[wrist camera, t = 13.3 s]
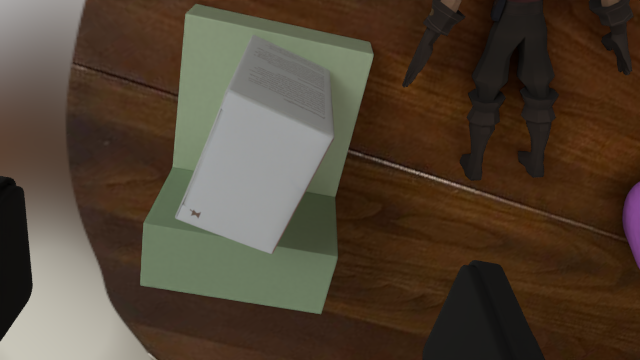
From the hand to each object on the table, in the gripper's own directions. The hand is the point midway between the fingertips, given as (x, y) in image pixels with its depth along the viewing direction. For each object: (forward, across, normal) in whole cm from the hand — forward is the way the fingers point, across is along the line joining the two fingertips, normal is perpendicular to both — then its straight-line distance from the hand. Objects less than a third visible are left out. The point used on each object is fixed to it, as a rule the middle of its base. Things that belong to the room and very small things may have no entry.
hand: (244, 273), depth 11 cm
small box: (+24, +1, +6) cm, 25 cm away
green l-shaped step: (+27, +1, +9) cm, 28 cm away
